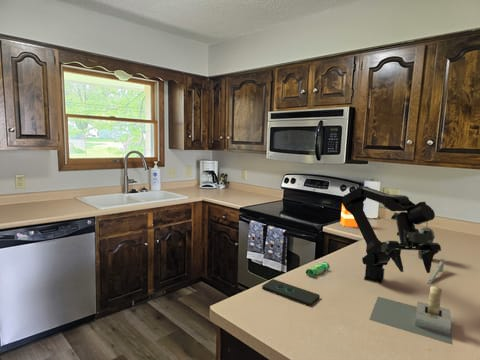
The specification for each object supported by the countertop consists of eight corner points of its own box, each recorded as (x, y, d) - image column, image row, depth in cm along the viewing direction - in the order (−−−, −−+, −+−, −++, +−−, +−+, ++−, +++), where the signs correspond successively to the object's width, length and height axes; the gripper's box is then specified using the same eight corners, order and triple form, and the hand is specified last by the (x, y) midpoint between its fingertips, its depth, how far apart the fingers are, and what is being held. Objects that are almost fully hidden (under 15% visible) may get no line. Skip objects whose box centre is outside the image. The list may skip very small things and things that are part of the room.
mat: (369, 320, 100) (369, 319, 100) (377, 297, 116) (377, 296, 116) (452, 345, 89) (452, 344, 89) (449, 315, 104) (449, 315, 104)
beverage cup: (433, 258, 157) (438, 219, 154) (430, 262, 151) (434, 221, 149) (417, 254, 162) (421, 216, 159) (413, 258, 156) (417, 218, 154)
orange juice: (357, 227, 210) (359, 197, 207) (343, 227, 210) (346, 197, 207) (353, 224, 217) (355, 195, 215) (340, 224, 217) (342, 195, 215)
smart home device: (272, 278, 126) (320, 294, 114) (272, 282, 126) (320, 298, 114) (261, 285, 119) (310, 303, 107) (261, 290, 119) (310, 308, 108)
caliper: (440, 270, 143) (441, 256, 142) (443, 271, 142) (444, 257, 141) (427, 283, 128) (429, 269, 128) (430, 284, 128) (432, 269, 127)
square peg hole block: (414, 325, 98) (416, 313, 97) (416, 312, 105) (417, 301, 105) (449, 335, 93) (451, 322, 93) (448, 321, 101) (449, 309, 100)
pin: (426, 324, 99) (430, 289, 97) (426, 319, 101) (430, 285, 100) (437, 327, 97) (441, 291, 96) (437, 322, 100) (441, 288, 98)
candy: (314, 276, 130) (310, 266, 131) (308, 278, 132) (304, 269, 133) (331, 269, 138) (327, 260, 139) (325, 271, 140) (321, 262, 141)
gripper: (391, 220, 108) (399, 266, 101) (445, 222, 108) (457, 269, 101) (377, 229, 118) (384, 272, 111) (426, 232, 118) (436, 275, 111)
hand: (415, 272), depth 108 cm, fingers open, 9 cm apart
